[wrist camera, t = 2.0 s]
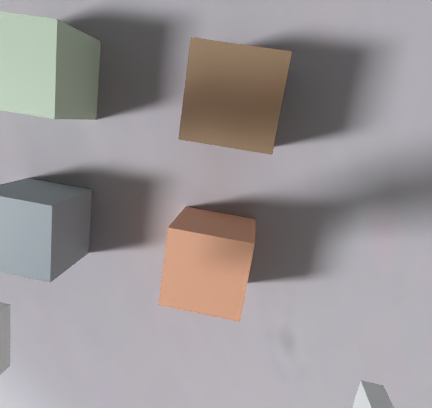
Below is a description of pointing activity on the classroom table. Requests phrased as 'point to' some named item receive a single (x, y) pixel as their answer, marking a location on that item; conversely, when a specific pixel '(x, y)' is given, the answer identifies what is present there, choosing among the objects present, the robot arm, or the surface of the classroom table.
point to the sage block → (47, 68)
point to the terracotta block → (207, 263)
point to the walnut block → (233, 95)
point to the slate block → (43, 227)
